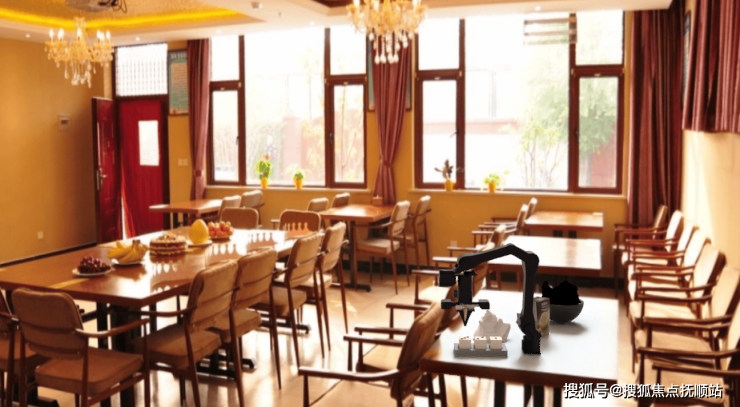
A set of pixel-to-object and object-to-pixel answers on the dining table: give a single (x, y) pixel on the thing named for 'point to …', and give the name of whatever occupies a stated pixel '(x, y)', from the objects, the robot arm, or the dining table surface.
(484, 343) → the key two dots
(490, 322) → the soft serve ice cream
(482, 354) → the key board
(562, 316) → the coal bowl
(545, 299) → the coffee box
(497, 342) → the key one dot
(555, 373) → the dining table surface
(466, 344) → the key three dots
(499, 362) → the dining table surface
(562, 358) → the dining table surface
